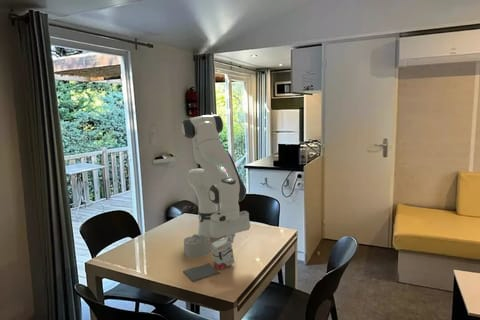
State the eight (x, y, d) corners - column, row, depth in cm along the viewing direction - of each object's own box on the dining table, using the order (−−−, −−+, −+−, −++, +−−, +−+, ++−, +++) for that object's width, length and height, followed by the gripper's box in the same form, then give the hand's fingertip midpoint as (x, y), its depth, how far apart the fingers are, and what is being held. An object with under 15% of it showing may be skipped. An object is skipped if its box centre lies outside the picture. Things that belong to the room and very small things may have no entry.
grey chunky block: (183, 251, 178) (182, 235, 176) (207, 247, 182) (207, 231, 181) (187, 259, 168) (186, 242, 167) (213, 254, 172) (212, 238, 171)
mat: (208, 264, 161) (208, 263, 161) (219, 273, 152) (219, 272, 152) (183, 271, 154) (183, 270, 154) (193, 281, 145) (193, 280, 145)
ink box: (219, 270, 155) (215, 247, 152) (214, 265, 159) (210, 243, 156) (235, 262, 159) (231, 240, 156) (229, 258, 163) (225, 236, 160)
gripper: (244, 208, 165) (245, 236, 167) (207, 216, 154) (208, 245, 156) (252, 211, 160) (253, 239, 162) (214, 219, 149) (215, 249, 151)
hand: (231, 242), depth 159 cm, fingers closed, pressing on ink box
